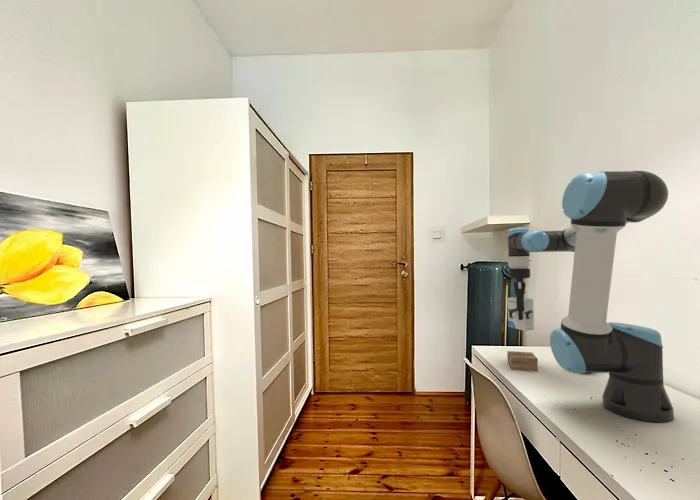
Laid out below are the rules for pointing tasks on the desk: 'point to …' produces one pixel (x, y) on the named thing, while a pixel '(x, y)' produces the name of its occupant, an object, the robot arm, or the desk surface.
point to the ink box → (527, 311)
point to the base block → (522, 361)
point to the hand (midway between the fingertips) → (520, 325)
